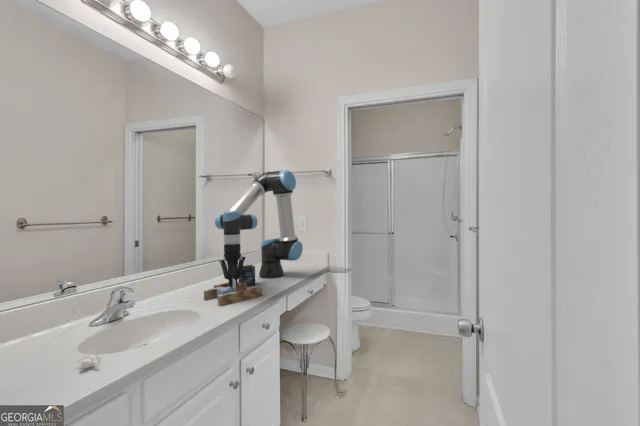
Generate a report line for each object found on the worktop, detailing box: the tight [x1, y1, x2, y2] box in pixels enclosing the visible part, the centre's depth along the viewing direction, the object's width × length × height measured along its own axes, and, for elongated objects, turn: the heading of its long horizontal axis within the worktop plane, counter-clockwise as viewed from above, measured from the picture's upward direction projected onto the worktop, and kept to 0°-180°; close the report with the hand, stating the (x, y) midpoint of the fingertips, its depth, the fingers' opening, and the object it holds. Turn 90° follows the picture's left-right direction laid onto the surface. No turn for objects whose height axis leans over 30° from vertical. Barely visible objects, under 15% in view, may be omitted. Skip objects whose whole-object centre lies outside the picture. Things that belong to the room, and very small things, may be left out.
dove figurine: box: [76, 348, 102, 370], centre depth 84 cm, size 8×5×5 cm, turn 78°
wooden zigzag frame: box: [203, 282, 263, 307], centre depth 151 cm, size 22×22×4 cm
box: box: [238, 264, 256, 287], centre depth 173 cm, size 8×6×11 cm
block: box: [216, 287, 235, 301], centre depth 146 cm, size 6×6×5 cm
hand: (233, 293), depth 148 cm, fingers closed
